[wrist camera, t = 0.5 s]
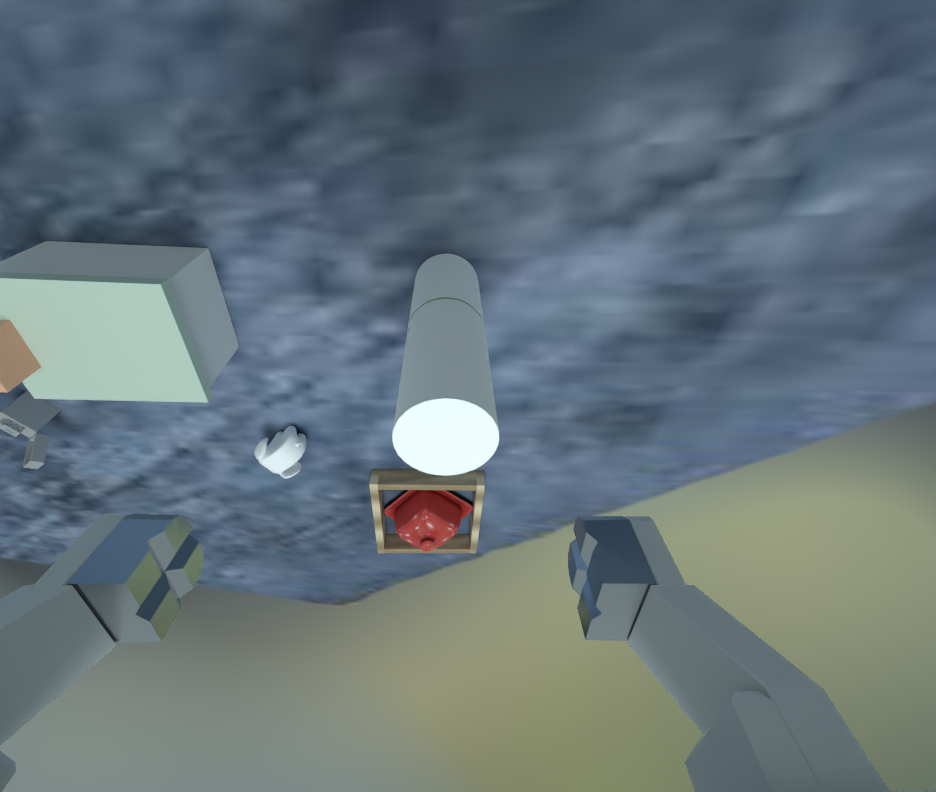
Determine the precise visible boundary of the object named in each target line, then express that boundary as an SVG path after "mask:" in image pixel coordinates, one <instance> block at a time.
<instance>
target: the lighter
mask: <svg viewBox="0 0 936 792" xmlns="http://www.w3.org/2000/svg"><path fill="white" fill-rule="evenodd" d="M59 412H60V409H58V408H56V407H55V406H53V405H51V404H50V403H48V402H46V401H45V400H43V399H34V397H33V396H32V395H31V393H30V392H29V391H26V392H24V393H23V394H22V395H21V396H19V397H18V398H17V399H16V400H14V401H13V402H12V403H11V404H9V405H8V406H7V407H6V408H4V409H3V410H2V411H0V429H2V430H4V431H6V432H8V433H9V434H11V435H13V436H15V437H16V436H17V435H19V434H20V433H22V434H23V435H25V436H27V437H30V439H29V443H28V447H27V451H26V455H25V459H24V463H23V467H25V468H33V469H38V468H39V467H41V466H42V465H43V464H44V461H45V457H46V452H47V447H48V443H49V438H50V435H45V434H40V433H37V432H38V431H39V430H40V429H41V428H42V427H43V426H44V425H46V424H47V423H48V422H49V421H50V420H51V419H52V418H53V417H54V416H55V415H57V414H58V413H59Z"/></svg>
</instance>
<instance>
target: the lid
mask: <svg viewBox="0 0 936 792" xmlns="http://www.w3.org/2000/svg"><path fill="white" fill-rule="evenodd" d="M21 382H23V383H24V385H25V386H26V388H27V389H28V390H29V392H30V393H31V395H32V396H33V397H34V399H72V400H118V401H164V402H209V401H210V399H211V398H212V396H213V393H212V391H211V388H210V386H209V383H208V381H207V378H206V376H205V373H204V370H203V368H202V365H201V363H200V360H199V358H198V355H197V352H196V350H195V347H194V345H193V342H192V340H191V337H190V335H189V332H188V329H187V327H186V324H185V322H184V319H183V317H182V314H181V312H180V309H179V306H178V304H177V301H176V299H175V296H174V294H173V291H172V288H171V286H170V283H169V281H168V279H163V278H138V277H113V276H88V275H63V274H37V273H12V272H0V392H9V391H10V390H12V389H13V388H14V387H16V386H17V385H18V384H20V383H21Z"/></svg>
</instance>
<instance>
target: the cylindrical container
mask: <svg viewBox="0 0 936 792" xmlns="http://www.w3.org/2000/svg"><path fill="white" fill-rule="evenodd" d="M392 440H393V444H394V448H395V450H396V452H397V453H398V455H399V456H400V457H401V458H402V460H403V461H405V462H406V463H407V464H408V465H410V466H411V467H413V468H415V469H417V470H419V471H422V472H425V473H428V474H434V475H444V476H447V475H457V474H462V473H466V472H469V471H472V470H474V469H476V468H478V467H480V466H481V465H483V464H484V463H485V462H487V461H488V460H489V459H490V458H491V456H492V455H493V454H494V452H495V451H496V449H497V446H498V442H499V430H498V423H497V415H496V408H495V401H494V393H493V386H492V379H491V371H490V364H489V357H488V349H487V342H486V335H485V327H484V320H483V313H482V305H481V298H480V290H479V283H478V278H477V274H476V272H475V270H474V268H473V267H472V265H471V264H470V263H469V262H468V261H466V260H465V259H464V258H462V257H460V256H457V255H454V254H439V255H435V256H433V257H431V258H429V259H427V260H426V261H425V262H424V263H423V264H422V265H421V266H420V268H419V269H418V272H417V274H416V278H415V284H414V291H413V297H412V304H411V311H410V318H409V325H408V331H407V338H406V345H405V352H404V359H403V366H402V372H401V379H400V386H399V393H398V400H397V407H396V413H395V420H394V427H393V439H392Z"/></svg>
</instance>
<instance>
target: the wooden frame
mask: <svg viewBox="0 0 936 792" xmlns="http://www.w3.org/2000/svg"><path fill="white" fill-rule="evenodd" d="M369 485H370V493H371V501H372V509H373V517H374V525H375V533H376V541H377V549H378V553H476V552H477V544H478V536H479V528H480V520H481V512H482V504H483V497H484V489H485V481H484V471H469V472H466V473H462V474H457V475H447V476H444V475H434V474H428V473H425V472H422V471H419V470H386V469H372V473H371V478H370V484H369ZM382 490H469V491H474V495H473V505H472V506H473V510H472V514H471V524H470V533H469V534H455V535H454V536H453V537H452V538H451V539H450V540H448V541H447V542H446V543H444V544H443V545H441V546H439V547H437V548H435V549H433V550H432V551H429V552H425V551H422V550H421V549H420V548H418V547H416V546H413V545H412V544H410V543H408V542H406V541H405V540H403V539H402V538H401V537H399V535H398V534H386V525H385V515H384V505H383V495H382Z"/></svg>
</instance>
